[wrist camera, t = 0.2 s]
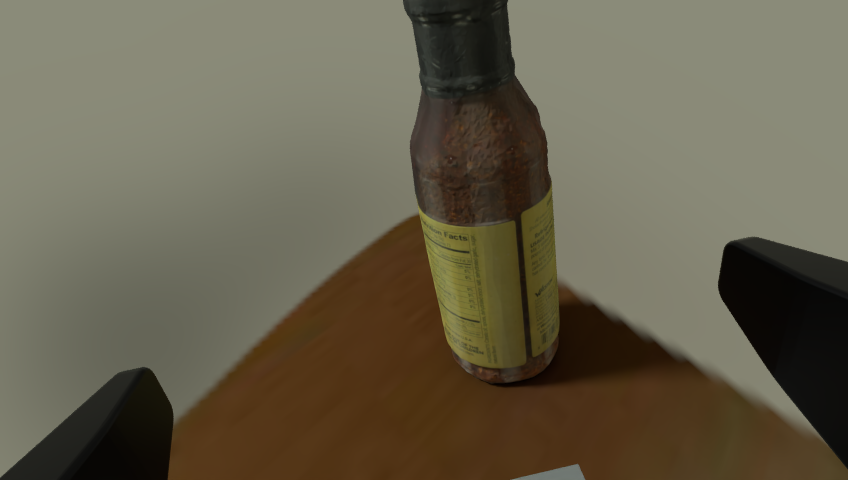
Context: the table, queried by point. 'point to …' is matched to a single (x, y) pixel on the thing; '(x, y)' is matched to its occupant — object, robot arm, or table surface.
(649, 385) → the table surface
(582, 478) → the board
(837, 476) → the table surface
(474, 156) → the sauce bottle
